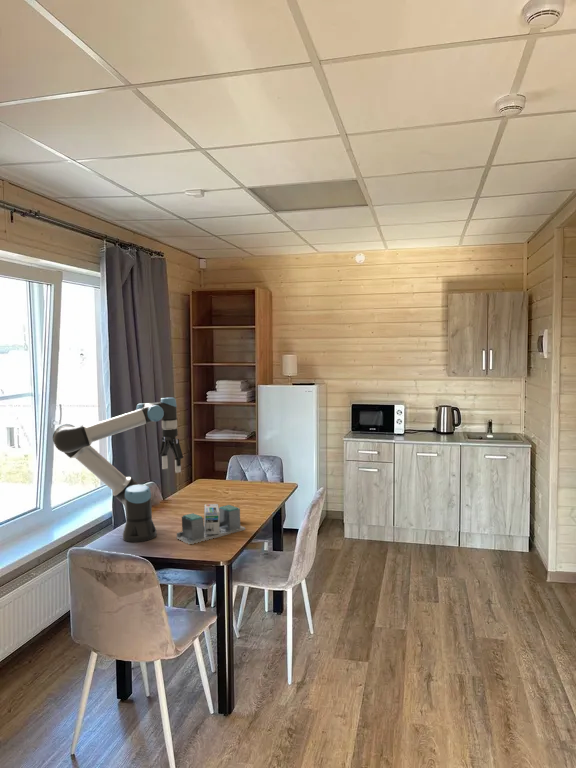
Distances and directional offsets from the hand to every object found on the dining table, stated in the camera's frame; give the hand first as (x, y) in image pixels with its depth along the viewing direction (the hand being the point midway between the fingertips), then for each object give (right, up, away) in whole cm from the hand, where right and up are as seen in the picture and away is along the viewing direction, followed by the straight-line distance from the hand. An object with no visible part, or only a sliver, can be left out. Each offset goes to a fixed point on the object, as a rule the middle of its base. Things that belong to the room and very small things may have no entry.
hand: (171, 470), depth 278 cm
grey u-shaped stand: (+23, -27, -18) cm, 40 cm away
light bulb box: (+22, -25, -18) cm, 38 cm away
